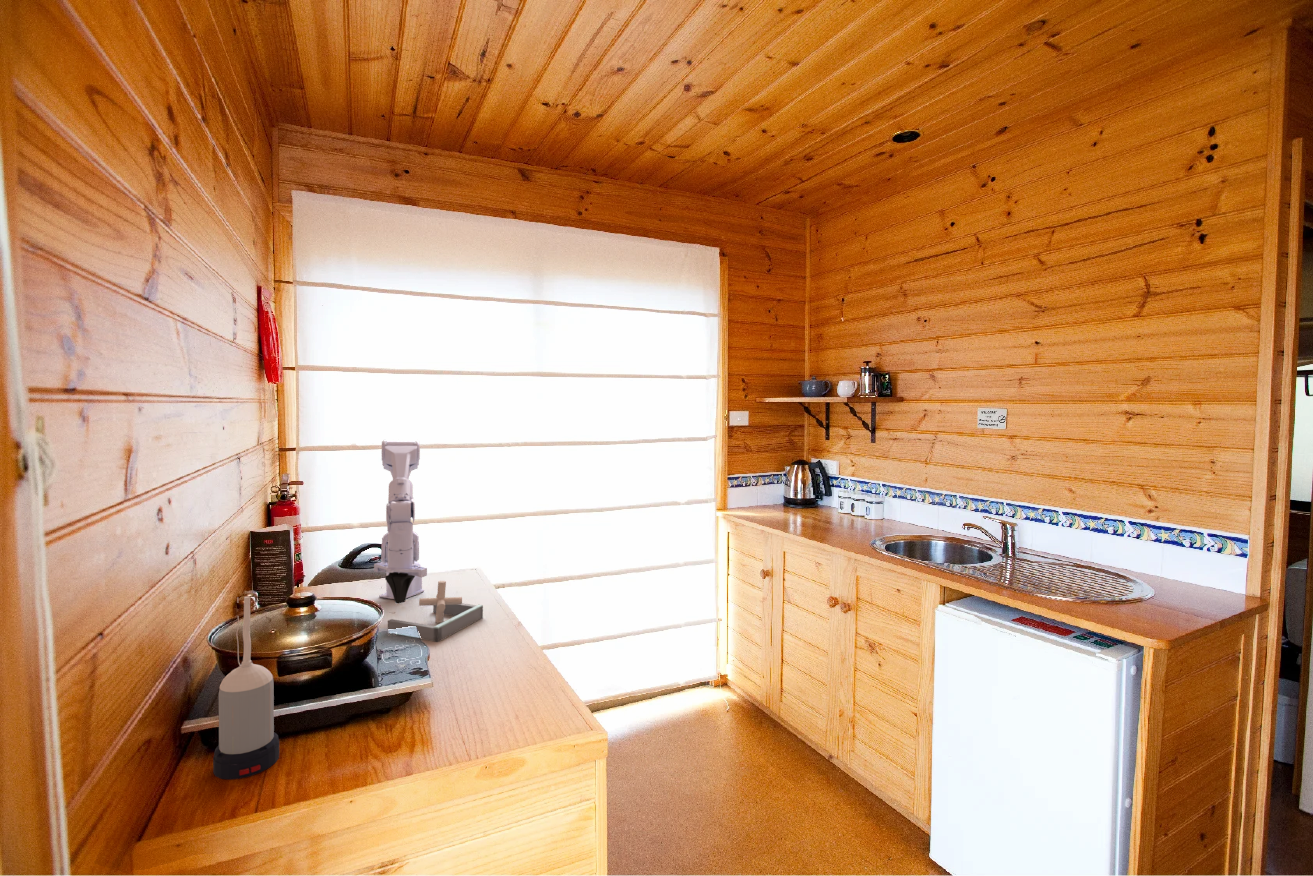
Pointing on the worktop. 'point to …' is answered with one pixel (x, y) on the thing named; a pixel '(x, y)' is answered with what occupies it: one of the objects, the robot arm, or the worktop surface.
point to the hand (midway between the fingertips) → (400, 602)
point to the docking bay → (463, 618)
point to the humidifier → (246, 716)
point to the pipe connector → (440, 601)
